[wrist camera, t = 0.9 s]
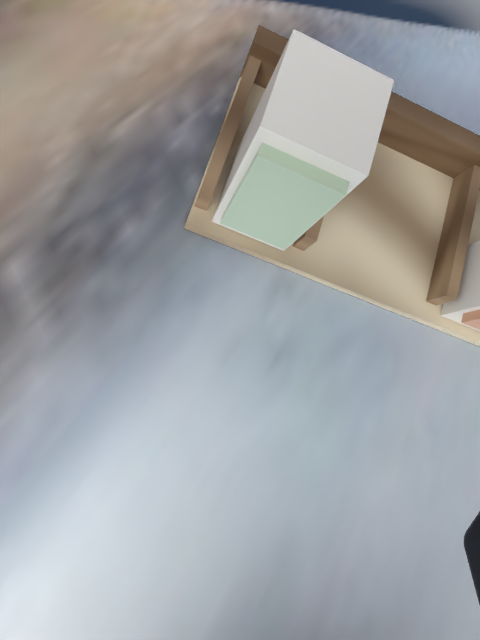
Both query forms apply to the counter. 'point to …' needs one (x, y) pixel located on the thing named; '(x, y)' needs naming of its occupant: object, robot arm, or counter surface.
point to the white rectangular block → (304, 143)
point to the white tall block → (467, 292)
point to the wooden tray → (369, 206)
